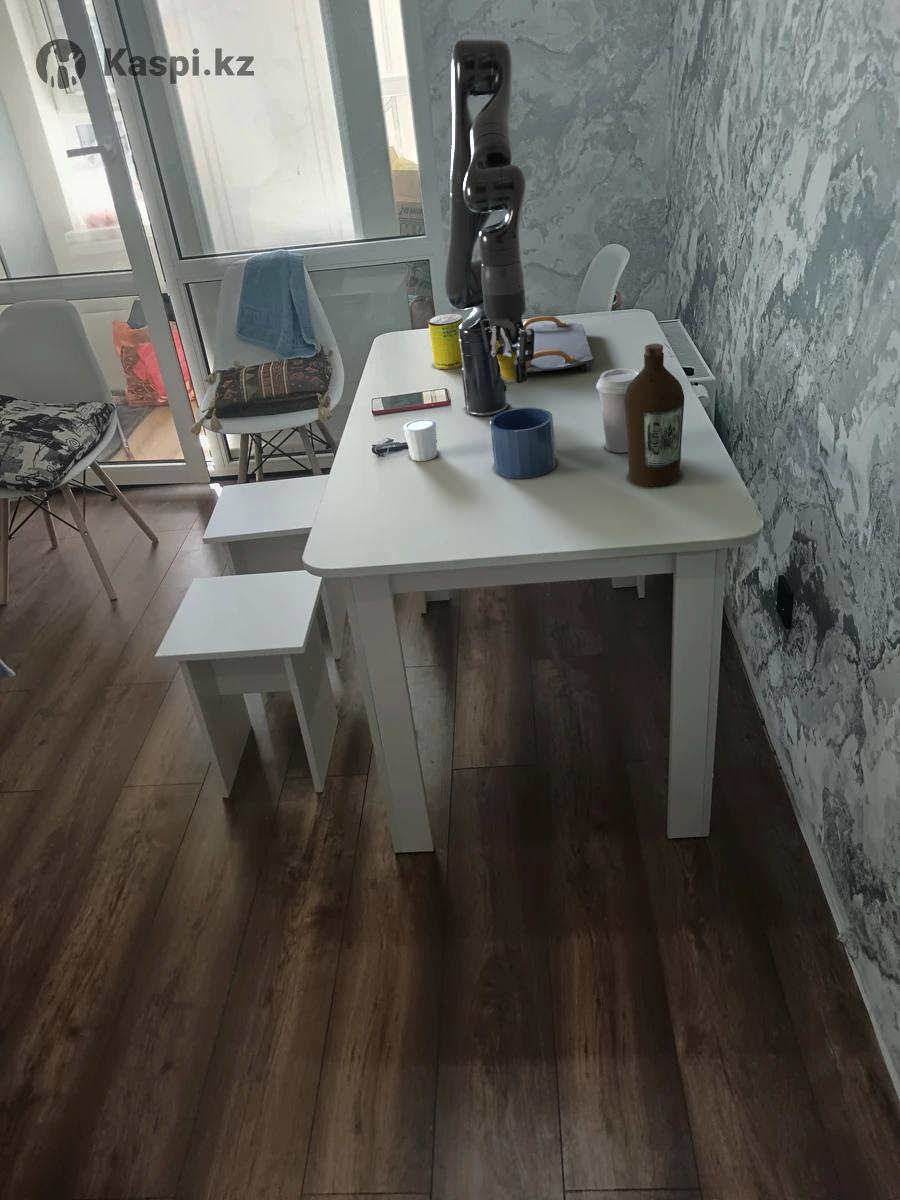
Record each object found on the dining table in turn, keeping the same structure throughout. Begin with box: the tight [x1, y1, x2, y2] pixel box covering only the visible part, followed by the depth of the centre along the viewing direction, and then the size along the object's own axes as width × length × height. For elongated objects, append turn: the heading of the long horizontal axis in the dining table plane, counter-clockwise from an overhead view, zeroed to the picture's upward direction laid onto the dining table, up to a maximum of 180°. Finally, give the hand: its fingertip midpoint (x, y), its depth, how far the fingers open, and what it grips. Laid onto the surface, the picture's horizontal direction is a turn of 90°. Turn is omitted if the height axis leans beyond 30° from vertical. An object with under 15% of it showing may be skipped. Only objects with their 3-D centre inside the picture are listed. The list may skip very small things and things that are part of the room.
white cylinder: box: [403, 418, 438, 462], centre depth 193 cm, size 7×7×7 cm
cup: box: [489, 407, 556, 480], centre depth 181 cm, size 12×12×10 cm
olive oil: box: [624, 343, 685, 488], centre depth 166 cm, size 11×11×25 cm
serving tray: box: [503, 315, 594, 373], centre depth 240 cm, size 39×23×6 cm, turn 178°
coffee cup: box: [595, 367, 641, 454], centre depth 182 cm, size 10×10×15 cm
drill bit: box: [497, 354, 528, 385], centre depth 170 cm, size 5×5×10 cm
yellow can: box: [427, 313, 463, 370], centre depth 243 cm, size 9×9×12 cm
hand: (510, 378), depth 172 cm, fingers closed on drill bit, 5 cm apart
